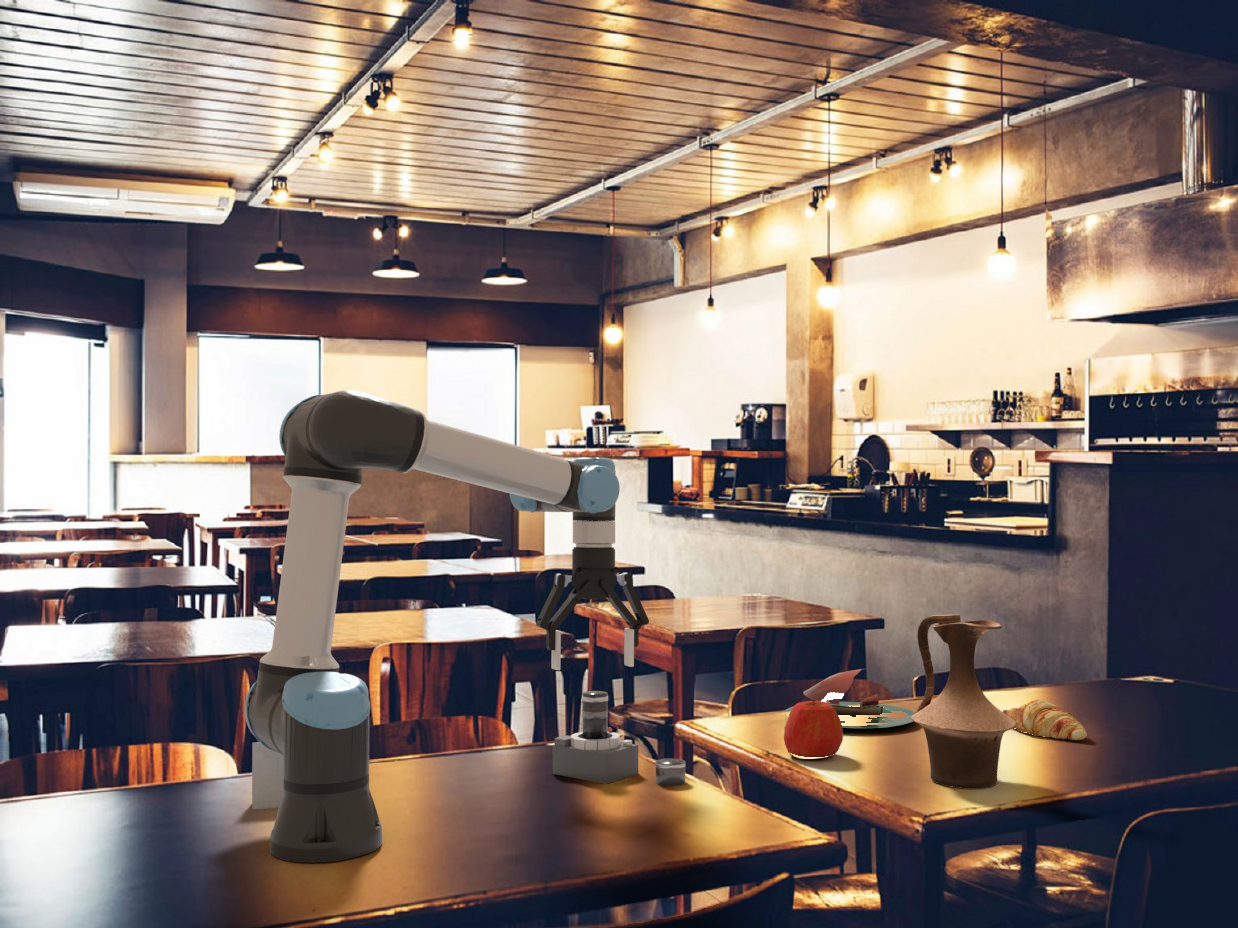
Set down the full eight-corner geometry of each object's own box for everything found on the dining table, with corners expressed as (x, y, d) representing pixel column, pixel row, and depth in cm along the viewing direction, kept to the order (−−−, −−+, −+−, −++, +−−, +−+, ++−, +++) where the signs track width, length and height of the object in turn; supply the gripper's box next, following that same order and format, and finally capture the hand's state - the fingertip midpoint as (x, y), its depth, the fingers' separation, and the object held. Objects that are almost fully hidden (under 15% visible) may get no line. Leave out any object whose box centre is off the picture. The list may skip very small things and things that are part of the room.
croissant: (1096, 759, 227) (1109, 721, 228) (1063, 740, 223) (1077, 701, 224) (1013, 737, 245) (1025, 702, 247) (981, 719, 241) (994, 683, 243)
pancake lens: (673, 787, 194) (673, 766, 194) (649, 783, 197) (649, 762, 197) (691, 781, 198) (691, 761, 198) (667, 777, 201) (667, 757, 201)
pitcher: (890, 781, 196) (888, 615, 197) (939, 764, 209) (936, 607, 210) (989, 799, 185) (986, 622, 185) (1035, 779, 197) (1032, 613, 198)
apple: (838, 765, 209) (838, 705, 209) (778, 761, 212) (778, 702, 213) (847, 752, 219) (846, 695, 219) (789, 749, 222) (788, 692, 223)
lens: (611, 746, 203) (611, 694, 203) (586, 748, 201) (587, 696, 201) (602, 740, 207) (602, 689, 207) (578, 743, 205) (578, 691, 206)
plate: (770, 711, 261) (769, 661, 261) (891, 707, 264) (891, 657, 264) (803, 737, 233) (803, 681, 233) (939, 733, 236) (938, 677, 236)
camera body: (605, 783, 197) (605, 739, 197) (552, 773, 204) (552, 731, 204) (638, 773, 204) (638, 730, 204) (585, 764, 211) (585, 723, 211)
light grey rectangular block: (297, 805, 185) (296, 742, 185) (252, 809, 183) (252, 745, 183) (296, 800, 188) (296, 737, 188) (252, 803, 186) (252, 740, 187)
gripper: (650, 544, 213) (650, 661, 212) (519, 545, 204) (518, 667, 203) (667, 546, 206) (666, 667, 205) (532, 546, 197) (530, 673, 196)
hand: (592, 667), depth 204 cm, fingers open, 13 cm apart
